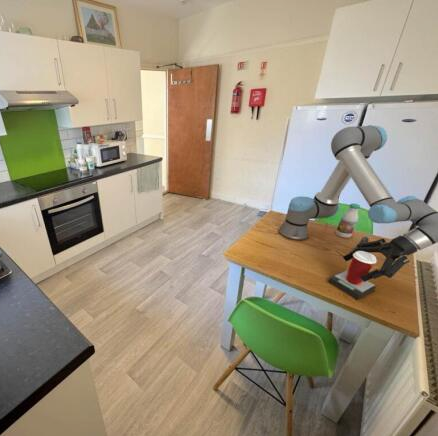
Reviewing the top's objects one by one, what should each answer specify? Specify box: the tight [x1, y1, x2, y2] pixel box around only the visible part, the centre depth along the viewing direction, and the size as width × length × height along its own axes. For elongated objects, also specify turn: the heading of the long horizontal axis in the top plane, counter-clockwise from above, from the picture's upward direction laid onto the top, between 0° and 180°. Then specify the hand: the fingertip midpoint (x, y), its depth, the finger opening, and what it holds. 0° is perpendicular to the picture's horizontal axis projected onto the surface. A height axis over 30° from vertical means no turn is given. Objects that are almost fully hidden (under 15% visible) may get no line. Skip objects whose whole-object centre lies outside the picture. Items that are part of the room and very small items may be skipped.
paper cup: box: [346, 251, 378, 285], centre depth 102 cm, size 8×8×14 cm
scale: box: [327, 269, 377, 300], centre depth 106 cm, size 12×12×3 cm
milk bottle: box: [335, 203, 361, 239], centre depth 140 cm, size 8×8×20 cm
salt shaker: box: [352, 235, 370, 251], centre depth 124 cm, size 6×6×12 cm
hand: (352, 268), depth 103 cm, fingers open, 13 cm apart
